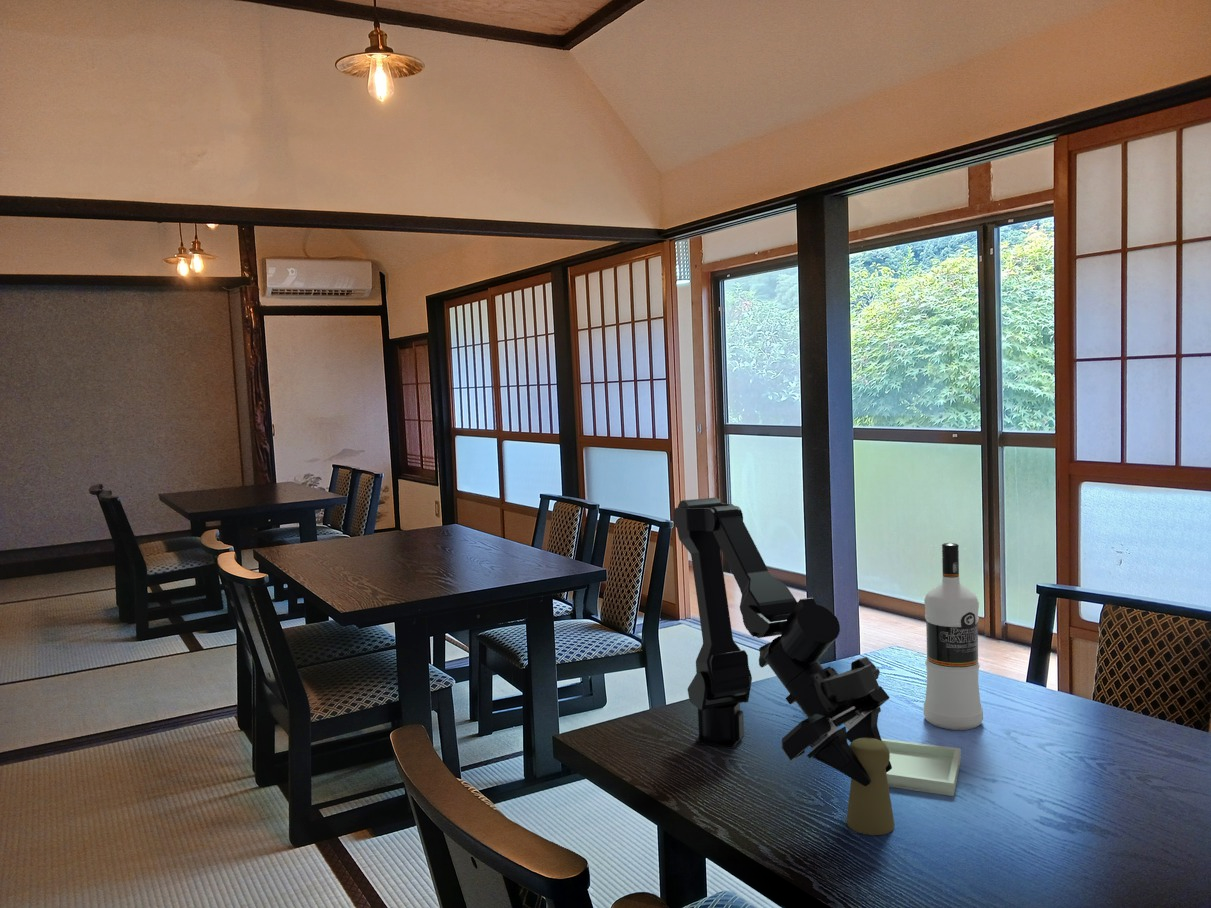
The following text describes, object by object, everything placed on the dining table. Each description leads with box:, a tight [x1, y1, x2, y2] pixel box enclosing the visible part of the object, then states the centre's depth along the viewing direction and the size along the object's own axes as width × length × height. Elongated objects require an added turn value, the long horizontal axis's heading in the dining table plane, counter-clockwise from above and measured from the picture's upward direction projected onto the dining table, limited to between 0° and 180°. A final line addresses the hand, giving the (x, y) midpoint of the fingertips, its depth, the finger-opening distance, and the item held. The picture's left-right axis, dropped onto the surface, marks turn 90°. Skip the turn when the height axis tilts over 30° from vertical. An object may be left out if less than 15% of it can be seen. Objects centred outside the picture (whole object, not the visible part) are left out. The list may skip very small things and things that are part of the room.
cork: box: [845, 738, 895, 836], centre depth 116 cm, size 6×6×11 cm
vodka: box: [923, 542, 984, 731], centre depth 148 cm, size 9×9×30 cm
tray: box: [881, 738, 962, 797], centre depth 131 cm, size 13×13×2 cm
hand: (879, 777), depth 115 cm, fingers closed on cork, 5 cm apart
